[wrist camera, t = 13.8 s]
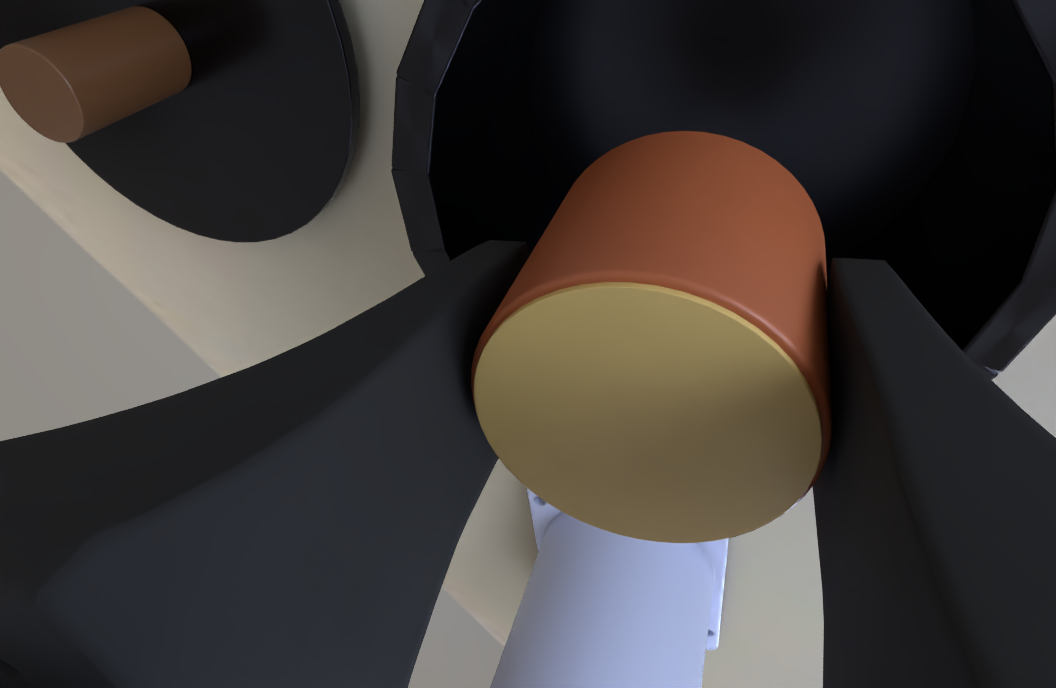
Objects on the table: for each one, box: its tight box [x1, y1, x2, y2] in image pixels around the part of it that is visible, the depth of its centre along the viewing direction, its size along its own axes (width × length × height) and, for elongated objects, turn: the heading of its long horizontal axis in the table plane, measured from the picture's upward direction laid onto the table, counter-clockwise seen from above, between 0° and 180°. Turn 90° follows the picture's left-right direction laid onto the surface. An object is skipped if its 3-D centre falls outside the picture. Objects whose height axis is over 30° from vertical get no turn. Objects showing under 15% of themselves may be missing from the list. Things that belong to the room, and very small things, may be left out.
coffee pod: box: [471, 131, 832, 543], centre depth 9 cm, size 4×4×4 cm
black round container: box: [391, 0, 1056, 380], centre depth 14 cm, size 12×12×6 cm
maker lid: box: [0, 0, 360, 242], centre depth 18 cm, size 13×13×5 cm
